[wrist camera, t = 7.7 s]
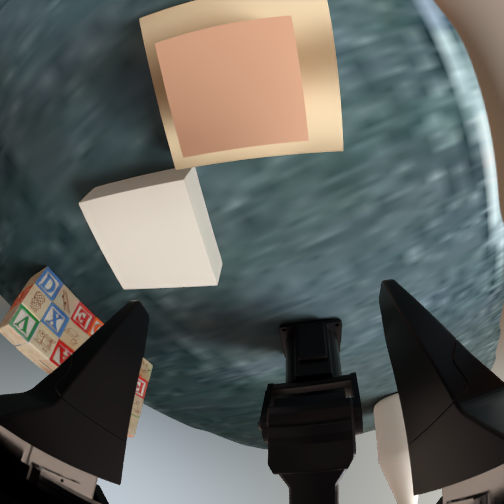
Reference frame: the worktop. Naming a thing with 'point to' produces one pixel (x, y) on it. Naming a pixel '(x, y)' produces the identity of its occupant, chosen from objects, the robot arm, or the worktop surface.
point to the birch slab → (310, 60)
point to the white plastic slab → (155, 230)
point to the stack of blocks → (58, 329)
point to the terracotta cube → (234, 86)
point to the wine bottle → (394, 448)
